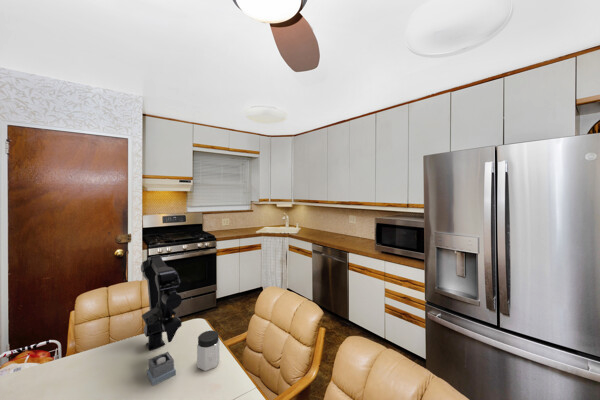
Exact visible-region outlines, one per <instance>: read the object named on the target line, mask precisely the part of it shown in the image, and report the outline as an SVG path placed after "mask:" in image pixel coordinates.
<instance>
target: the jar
mask: <svg viewBox="0 0 600 400" xmlns="http://www.w3.org/2000/svg"><path fill="white" fill-rule="evenodd" d="M219 337H220V333H219V332H218V331H216V330H206V331H203V332H202V333H200V334H199V335H198V337H197V345H196V351H197V352H196V356H197V357H196V366H197V368H198V369H200V370H202V371H205V372H207V371H209V370H212V369H214V368H217V366H218V363H219V362H220V338H219Z"/></svg>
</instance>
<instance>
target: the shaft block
mask: <svg viewBox="0 0 600 400" xmlns="http://www.w3.org/2000/svg"><path fill="white" fill-rule="evenodd" d="M164 362H166V358H165V357H161V358H159V359H158V360H157V365H159V364H161V363H164ZM176 373H177V372H176V368H175V367H174V370H172V371H170V372H168V373H166V374H163V375H161V376H159V377H157V378H155V379H154V378H153V376H152V375H151V373H150V371H149V368H148V369H146V375H147V378H148V379H149V381H150V383H151V385H152V386H155V385H158V384H159V383H162V382H163V381H165V380H168V379H170V378H172V377H174V376H176Z"/></svg>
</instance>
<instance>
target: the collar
mask: <svg viewBox="0 0 600 400" xmlns="http://www.w3.org/2000/svg"><path fill="white" fill-rule="evenodd" d="M161 357H165V358H166V362H164V363H161V364H159V365H157V360H158V359H159V358H161ZM174 366H175V359H174V358H173V356H172V355H171V354H170V352H169V351H166V352H163V353H160V354H158V355H156V356H154V357H151V358H149V359H148V369H149V371H150V373H151V375H152V376H153V378H154V379H155V378H157V377H159V376H161V375H163V374H166V373H168V372H170V371H172V370H174V368H175V367H174Z"/></svg>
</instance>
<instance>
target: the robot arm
mask: <svg viewBox="0 0 600 400" xmlns="http://www.w3.org/2000/svg"><path fill="white" fill-rule="evenodd" d="M140 271H141V273H142V276H143V278H144V279H145V280H146V281H147V295H148V306H149V310H148V311H146V312H144V313H142V314H141V318H142V319H143V322H144V324H145V325H144V327H143V334H144V335H145V337H146V338H148V341H147V342H146V343H145V345H146V347H147V349H148V351H151V350H152V351H153V350H155V349H158V348H160V347H162V346H165V345H166V342H165V341H164V340H163V333H166V338H167V341H168V342H167V343H171V342H172V341H173V339H174V337H175V336H176V333H177V331H178V330H179V329H180V327H182V320H181V319H180V317H178V316H176V310H175V309H177V308H179V306H181V304H182V302H183V298H182V296H181V295H180V294H179V293H178V292H177V289H178V288H181V287H180V284H181V279H180V276H179V273H178V272H177V270H176V269H175V268H173V267H172V266H168V265H167V264H166V263H165V261H164V260H163V257H162V255H152V256H150V257H148V258H147V259H145V260H144V261H142V262H141V264H140ZM174 315H175V316H174ZM173 316H174V317H173Z"/></svg>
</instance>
